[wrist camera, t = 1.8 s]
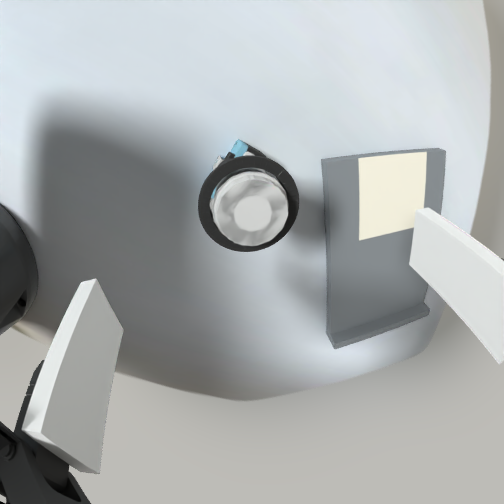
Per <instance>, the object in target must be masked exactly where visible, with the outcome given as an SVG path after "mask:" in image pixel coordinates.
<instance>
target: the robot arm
mask: <svg viewBox="0 0 504 504" xmlns="http://www.w3.org/2000/svg"><path fill="white" fill-rule="evenodd" d="M409 265H410V266H411V267H412V268H413V269H414V270H415V271H416V272H417V273H418V274H419V275H420V276H421V277H422V278H423V279H424V280H425V281H426V282H427V283H428V284H429V285H430V286H431V287H432V288H433V289H434V290H435V291H436V292H437V293H438V294H439V295H440V296H441V297H442V298H443V299H444V301H445V302H446V303H447V304H448V305H449V306H450V307H451V308H452V309H453V310H454V311H455V312H456V314H457V315H458V316H459V317H460V318H461V319H462V320H463V321H464V322H465V324H466V325H467V326H468V327H469V328H470V329H471V331H472V332H473V333H474V334H475V335H476V336H477V337H478V339H479V340H480V341H481V342H482V343H483V345H484V346H485V347H486V348H487V350H488V351H489V352H490V353H491V355H492V356H493V357H494V358H495V360H496V361H497V362H498V363H499V364H500V363H501V362H503V361H504V259H502V258H500V257H498V256H497V255H495V254H494V253H493V252H491V251H490V250H489V249H488V248H486V247H485V246H484V245H482V244H481V243H480V242H478V241H477V240H476V239H474V238H473V237H472V236H470V235H469V234H467V233H466V232H465V231H463V230H462V229H460V228H459V227H457V226H456V225H454V224H453V223H452V222H450V221H449V220H447V219H446V218H444V217H443V216H441V215H439V214H438V213H436V212H435V211H433V210H432V209H430V208H429V207H428V208H423V209H418V210H416V211H415V222H414V232H413V240H412V248H411V255H410V262H409ZM37 288H38V274H37V267H36V263H35V259H34V256H33V253H32V250H31V248H30V245H29V243H28V241H27V239H26V237H25V235H24V233H23V231H22V230H21V228H20V227H19V225H18V224H17V222H16V221H15V220H14V218H13V217H12V216H11V215H10V214H9V213H8V211H7V210H6V209H5V208H3V207H2V206H1V205H0V335H1V334H2V333H4V332H5V331H6V330H8V329H9V328H10V327H11V326H13V325H14V324H15V323H17V322H18V321H19V320H21V319H22V318H23V317H24V315H25V314H26V313H27V311H28V309H29V308H30V306H31V304H32V303H33V301H34V299H35V296H36V293H37ZM123 331H124V329H123V328H122V326H121V324H120V322H119V321H118V319H117V317H116V315H115V313H114V311H113V310H112V308H111V306H110V304H109V302H108V300H107V298H106V296H105V294H104V292H103V290H102V288H101V286H100V284H99V282H98V280H97V278H96V279H92V280H88V281H83V282H81V283H80V285H79V287H78V289H77V291H76V293H75V295H74V297H73V299H72V301H71V303H70V305H69V307H68V309H67V311H66V313H65V315H64V317H63V319H62V322H61V324H60V326H59V328H58V330H57V333H56V335H55V337H54V339H53V342H52V344H51V346H50V349H49V351H48V354H47V356H46V359H45V360H42V362H41V363H40V364H39V366H38V367H37V368H36V370H35V371H34V373H33V376H32V378H31V381H30V386H28V389H27V392H26V395H27V396H25V398H24V401H23V404H22V407H21V410H20V413H19V417H18V420H17V423H16V427H15V430H14V433H13V432H12V431H11V430H10V429H9V428H7V427H6V426H5V425H4V424H3V423H2V422H0V494H1V495H3V496H4V497H6V501H7V502H6V504H91V503H90V501H89V500H88V499H87V497H86V496H85V494H84V492H83V491H82V489H81V487H80V486H79V484H78V482H77V481H76V479H75V478H74V476H73V475H72V474H71V473H70V472H68V471H69V465H70V466H72V467H74V468H75V469H77V470H78V471H80V472H86V473H94V474H100V466H101V455H102V446H103V438H104V430H105V423H106V417H107V410H108V404H109V398H110V392H111V387H112V382H113V376H114V372H115V367H116V362H117V357H118V353H119V348H120V344H121V340H122V335H123ZM0 504H5V503H3V502H1V501H0Z"/></svg>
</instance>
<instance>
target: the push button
mask: <svg viewBox="0 0 504 504" xmlns="http://www.w3.org/2000/svg"><path fill="white" fill-rule="evenodd" d="M264 170H266V171H268V172H270V173H272V174H273V175H275V176H276V178H277V179H278V181H279V182H278V181H277V180H276V179H275V178H273V177H271V176H269V175H267V174H266V172H265V171H264ZM210 200H211V201H210ZM298 209H299V194H298V190H297V187H296V184H295V182H294V180H293V178H292V177H291V175H290V174H289V173H288V172H287V171H286V170H285V169H284V168H283V167H282V166H280V165H279V164H278V163H276V162H275V161H273V160H270V159H268V158H266V156H265V155H264V154H263V153H261V152H260V151H258V150H257V149H255V148H253V147H251V146H250V145H248V144H246V143H244V142H243V141H241V140H239V139H238V140H237V141H236V143H235V144H234V147H233V149H232V150H231V152H229V153H228V154H227V156H226V157H225V159H224V160H223V159H221V156H220V155H219V157H218V158H217V160H216V162H215V164H214V165H213V171H212V172H211V173H210V175H209V176H208V177H207V179H206V180H205V182H204V184H203V186H202V188H201V191H200V194H199V200H198V211H199V217H200V221H201V224H202V226H203V228H204V229H205V231H206V233H207V234H208V235H209V236H210V237H211V238H212V239H213V240H214V241H215V242H216V243H218V244H219V245H221V246H223V247H225V248H227V249H230V250H234V251H240V252H252V251H258V250H261V249H264V248H267V247H269V246H271V245H273V244H275V243H276V242H278V241H279V240H280V239H282V238H283V237H284V236H285V235H286V234H287V232H288V231H289V230H290V228H291V227H292V225H293V224H294V221H295V219H296V216H297V213H298Z"/></svg>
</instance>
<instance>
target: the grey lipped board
mask: <svg viewBox="0 0 504 504" xmlns="http://www.w3.org/2000/svg"><path fill="white" fill-rule="evenodd" d="M445 158H446V151H445V150H442V149H439V148H431V149H414V150H401V151H389V152H378V153H369V154H359V155H351V156H343V157H335V158H327V159H321V162H322V175H323V189H324V205H325V226H326V255H327V331H326V333H327V335H328V337H329V339H330V341H331V343H332V345H333V347H334V349H337V348H341V347H344V346H347V345H350V344H353V343H356V342H359V341H362V340H365V339H368V338H371V337H373V336H376V335H379V334H382V333H384V332H387V331H390V330H392V329H395V328H398V327H400V326H403V325H405V324H408V323H410V322H413V321H415V320H418V319H420V318H423V317H425V316H427V315H429V311H430V309H429V308H428V307H427V305H426V304H425V303H424V299H425V295H426V291H427V287H428V283H427V282H426V281H425V280H424V279H423V278H422V277H421V276H420V275H419V274H418V273H417V272H416V271H415V270H414V269H413V268H412V267H411V266H410V265H409V262H410V255H411V248H412V240H413V232H414V222H415V211H416V210H418V209H423V208H428V207H429V208H430V209H432V210H433V211H435V212H436V213H438V214H439V215H441V208H442V199H443V189H444V176H445Z"/></svg>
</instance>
